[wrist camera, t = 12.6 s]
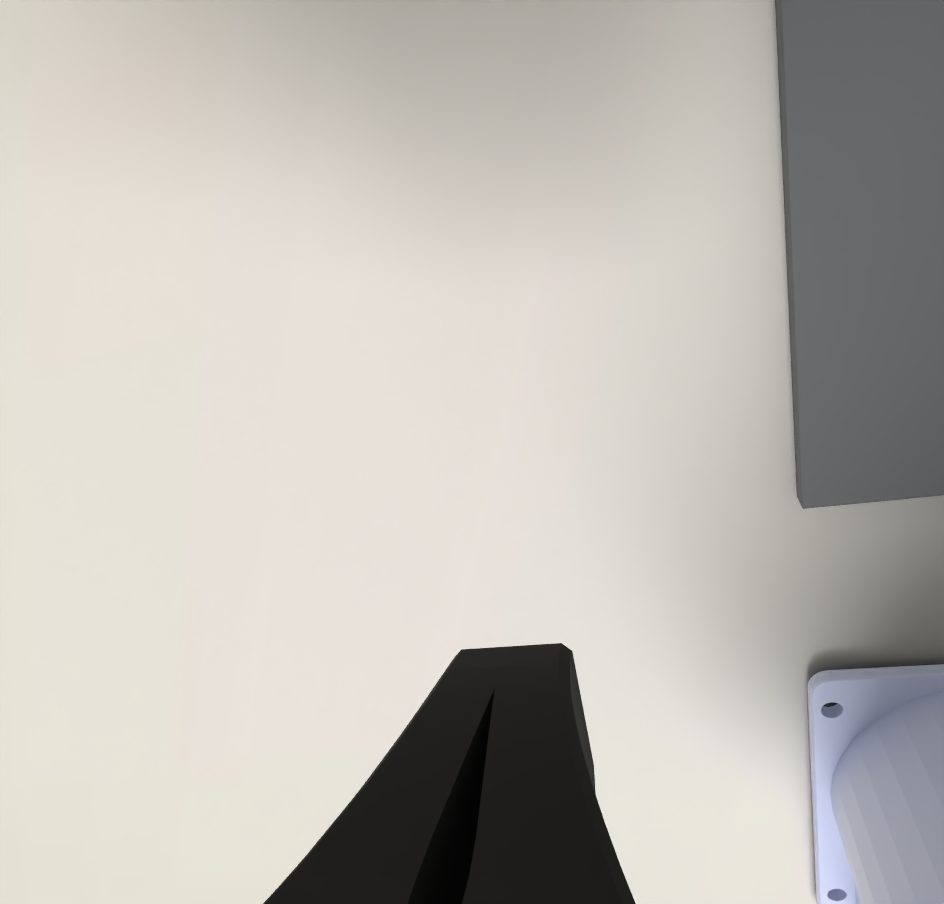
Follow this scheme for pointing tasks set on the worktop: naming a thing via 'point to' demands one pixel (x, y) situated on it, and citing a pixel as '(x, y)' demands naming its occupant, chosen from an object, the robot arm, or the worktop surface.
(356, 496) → the worktop surface
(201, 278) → the worktop surface
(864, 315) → the mat
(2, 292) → the worktop surface
